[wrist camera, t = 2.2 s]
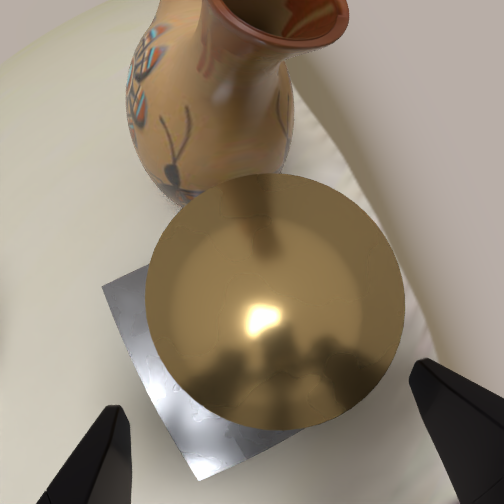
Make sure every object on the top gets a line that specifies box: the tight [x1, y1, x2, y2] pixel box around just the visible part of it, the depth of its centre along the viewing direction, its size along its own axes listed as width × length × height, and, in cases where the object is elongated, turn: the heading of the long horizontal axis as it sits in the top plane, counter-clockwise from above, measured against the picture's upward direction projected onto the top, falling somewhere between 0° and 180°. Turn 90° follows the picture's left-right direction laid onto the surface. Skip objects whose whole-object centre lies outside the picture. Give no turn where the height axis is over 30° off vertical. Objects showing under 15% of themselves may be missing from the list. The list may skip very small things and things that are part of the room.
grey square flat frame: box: [102, 264, 385, 481], centre depth 18 cm, size 12×12×2 cm
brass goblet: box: [145, 173, 405, 431], centre depth 13 cm, size 6×6×13 cm
